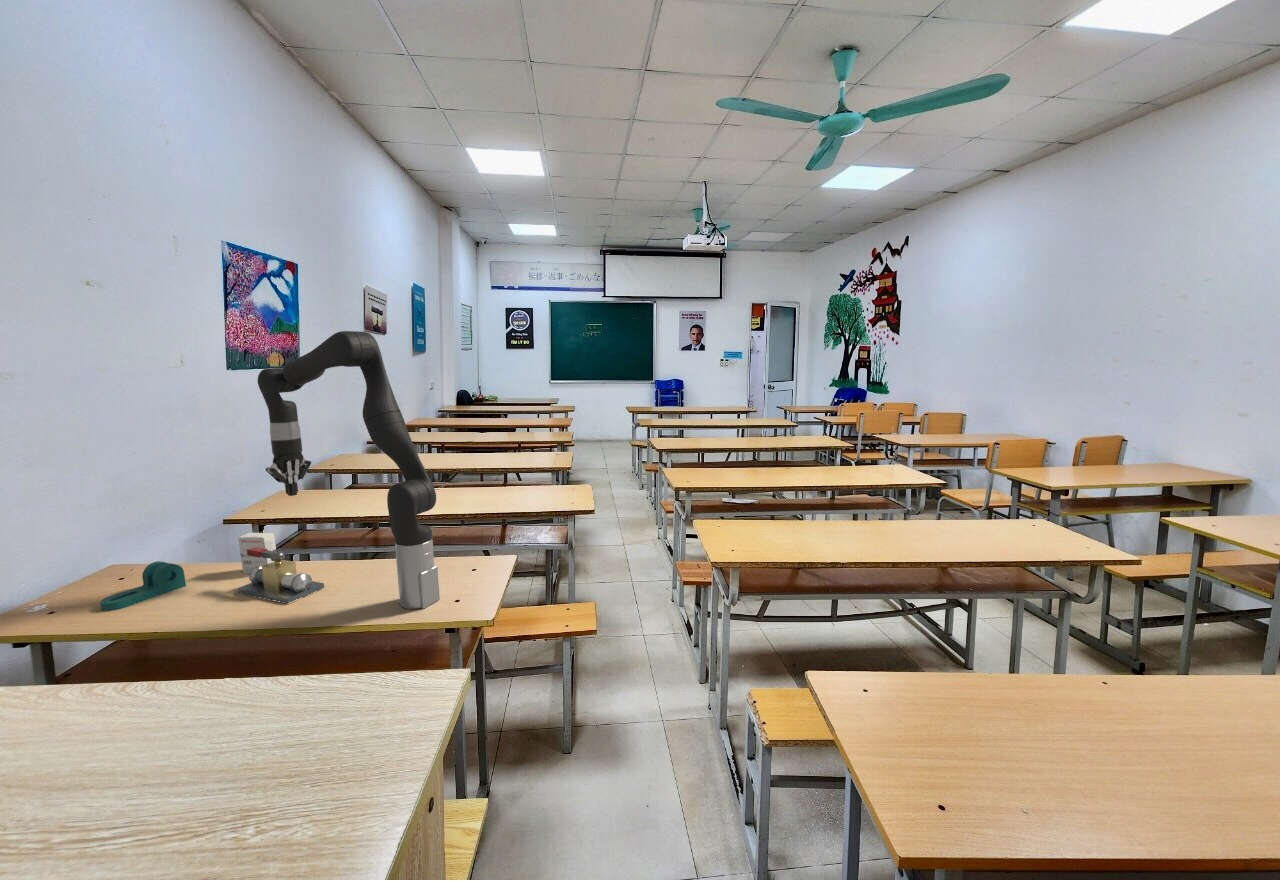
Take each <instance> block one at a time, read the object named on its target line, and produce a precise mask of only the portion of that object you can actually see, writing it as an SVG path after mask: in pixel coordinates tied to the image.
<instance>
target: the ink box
mask: <svg viewBox="0 0 1280 881" xmlns="http://www.w3.org/2000/svg"><path fill="white" fill-rule="evenodd" d="M238 546H239V553H240V560H241V566H242V573H243V574H247V575H248V574H250V572H251V570H252V569H253V568H254V567H256V566H259V565H262V566H263V565H266V564H269V563H272V562H274V561H271V559H270V558H265V557H260V558H258V557H253V556H247V549H250V548H253V547H259V548H265V549H267V550H269V551H275V552H276V551H277V546H276V539H275V533H274V532H247V533H245V534H243V535H240V536H239V537H238Z"/></svg>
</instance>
